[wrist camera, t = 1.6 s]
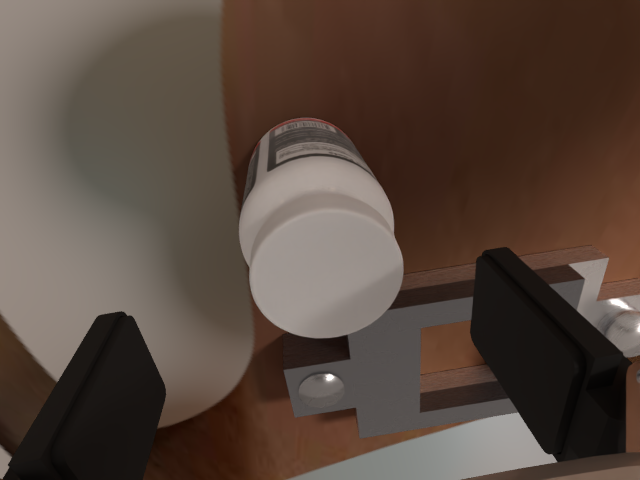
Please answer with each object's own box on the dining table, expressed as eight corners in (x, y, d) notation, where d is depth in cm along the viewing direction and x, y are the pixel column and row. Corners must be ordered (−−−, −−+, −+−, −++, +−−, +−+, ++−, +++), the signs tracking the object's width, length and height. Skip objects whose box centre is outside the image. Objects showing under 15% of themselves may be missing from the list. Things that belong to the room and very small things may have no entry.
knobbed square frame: (653, 235, 24) (701, 263, 22) (609, 359, 30) (643, 394, 27) (273, 294, 24) (273, 330, 21) (300, 410, 29) (302, 450, 27)
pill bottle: (308, 238, 22) (328, 377, 14) (226, 176, 20) (187, 294, 11) (381, 166, 20) (457, 271, 12) (301, 88, 18) (322, 148, 10)
